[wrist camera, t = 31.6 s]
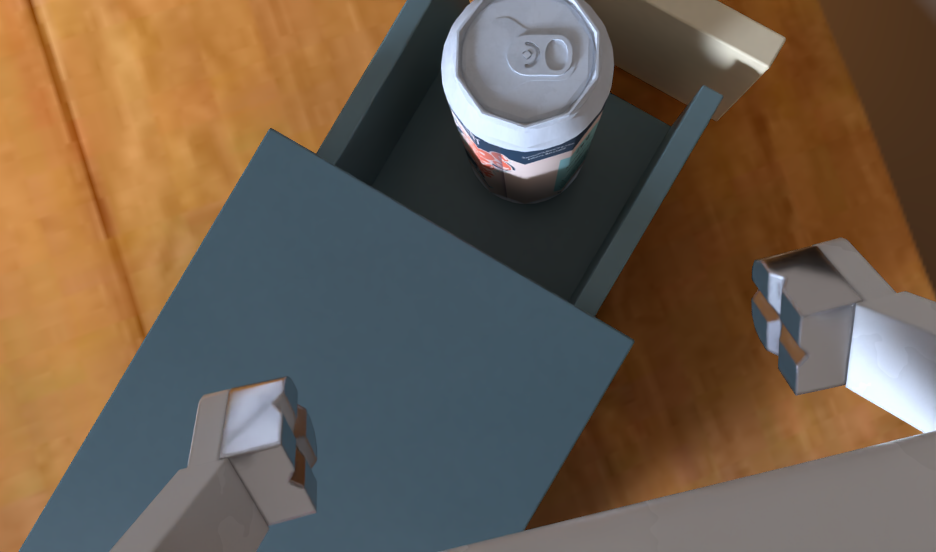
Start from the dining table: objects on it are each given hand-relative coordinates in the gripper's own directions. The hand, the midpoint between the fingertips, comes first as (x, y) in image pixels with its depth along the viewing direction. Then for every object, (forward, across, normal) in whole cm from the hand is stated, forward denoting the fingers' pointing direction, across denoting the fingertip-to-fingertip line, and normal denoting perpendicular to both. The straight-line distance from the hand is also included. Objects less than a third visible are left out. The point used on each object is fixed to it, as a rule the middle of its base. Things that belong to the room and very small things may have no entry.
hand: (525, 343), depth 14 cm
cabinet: (+15, +7, +16) cm, 23 cm away
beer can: (+19, -3, +7) cm, 21 cm away
